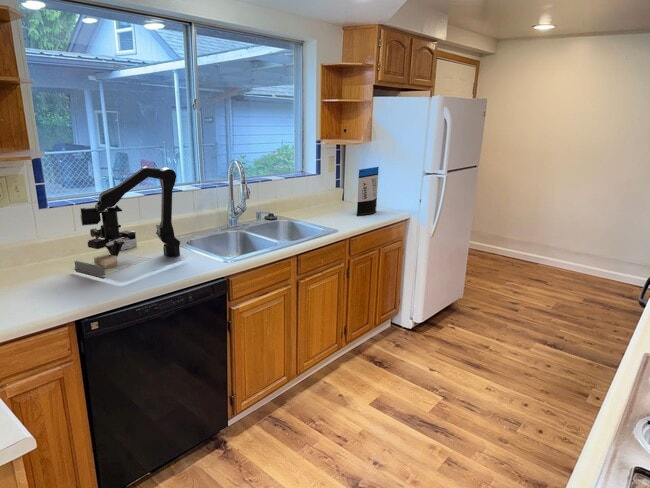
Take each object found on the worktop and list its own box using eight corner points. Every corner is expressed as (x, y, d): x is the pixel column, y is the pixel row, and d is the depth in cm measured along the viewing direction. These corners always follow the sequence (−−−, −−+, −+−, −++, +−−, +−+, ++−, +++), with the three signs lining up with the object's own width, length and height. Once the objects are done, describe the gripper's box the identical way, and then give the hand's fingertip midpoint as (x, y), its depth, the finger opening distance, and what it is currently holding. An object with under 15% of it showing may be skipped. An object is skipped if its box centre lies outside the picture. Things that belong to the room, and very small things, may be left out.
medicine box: (122, 253, 202) (120, 235, 199) (116, 251, 204) (114, 233, 201) (137, 249, 208) (136, 231, 206) (131, 247, 210) (129, 230, 208)
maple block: (117, 265, 182) (116, 256, 181) (105, 269, 177) (103, 260, 175) (107, 262, 184) (106, 253, 183) (94, 267, 179) (93, 257, 178)
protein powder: (382, 211, 303) (384, 167, 295) (362, 217, 284) (365, 170, 276) (370, 209, 309) (372, 166, 300) (350, 215, 290) (352, 169, 281)
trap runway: (151, 261, 192) (150, 251, 190) (103, 278, 171) (101, 267, 170) (125, 255, 198) (124, 246, 197) (75, 271, 178) (74, 261, 176)
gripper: (116, 216, 191) (120, 250, 195) (76, 225, 175) (81, 262, 179) (134, 219, 186) (138, 254, 191) (95, 228, 170) (100, 267, 175)
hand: (114, 259), depth 184 cm, fingers closed
